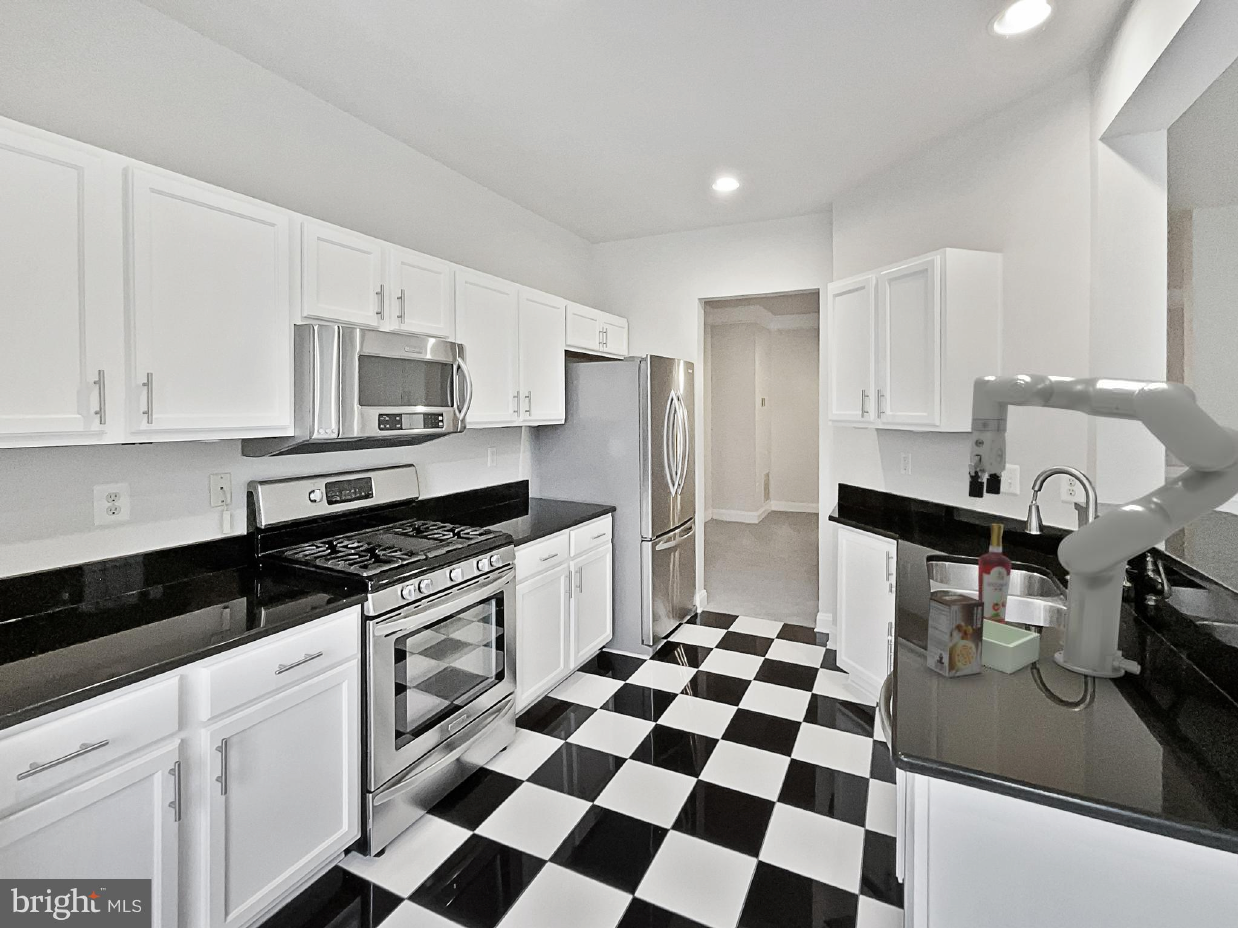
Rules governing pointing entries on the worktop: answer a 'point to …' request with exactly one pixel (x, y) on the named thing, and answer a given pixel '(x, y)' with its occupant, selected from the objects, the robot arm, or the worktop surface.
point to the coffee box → (955, 635)
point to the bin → (1008, 647)
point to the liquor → (994, 578)
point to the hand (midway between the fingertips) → (984, 495)
